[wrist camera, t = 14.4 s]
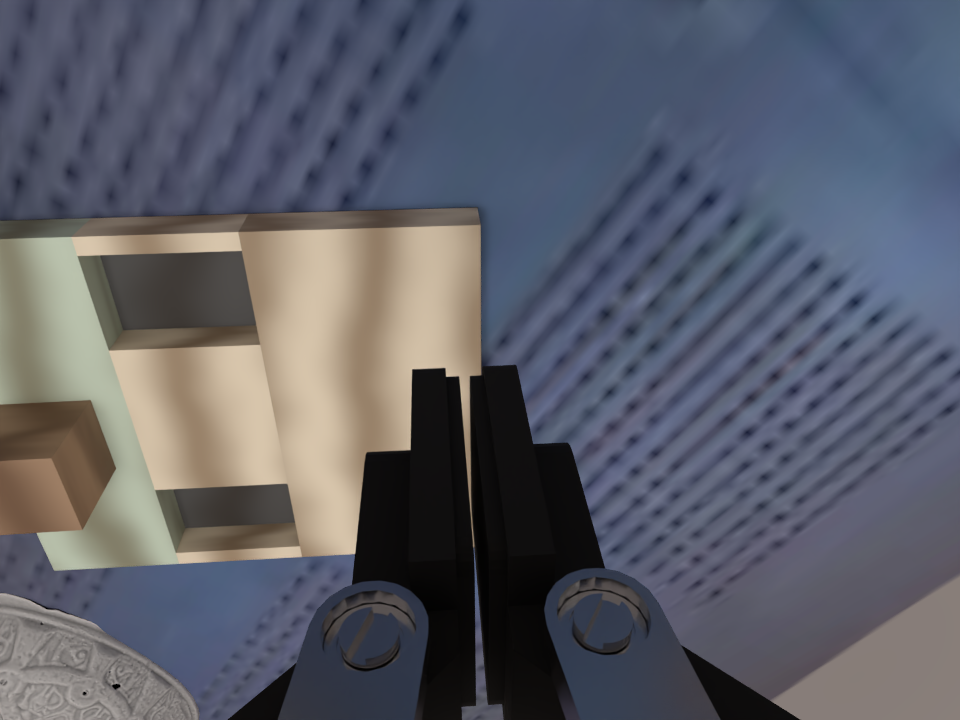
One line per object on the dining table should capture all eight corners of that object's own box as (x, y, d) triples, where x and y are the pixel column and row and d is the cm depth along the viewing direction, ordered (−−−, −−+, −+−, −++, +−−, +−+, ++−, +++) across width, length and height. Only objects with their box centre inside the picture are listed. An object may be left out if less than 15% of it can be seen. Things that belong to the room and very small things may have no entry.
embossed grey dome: (-39, 557, 48) (-100, 650, 43) (254, 690, 61) (234, 775, 55) (-138, 640, 54) (-201, 731, 49) (147, 746, 67) (121, 827, 61)
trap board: (477, 207, 38) (480, 225, 36) (478, 520, 50) (481, 546, 48) (-71, 222, 36) (-101, 242, 34) (70, 541, 49) (54, 570, 46)
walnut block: (90, 400, 40) (51, 458, 35) (116, 468, 42) (82, 530, 38) (-3, 404, 39) (-53, 463, 35) (29, 473, 42) (-14, 535, 38)
